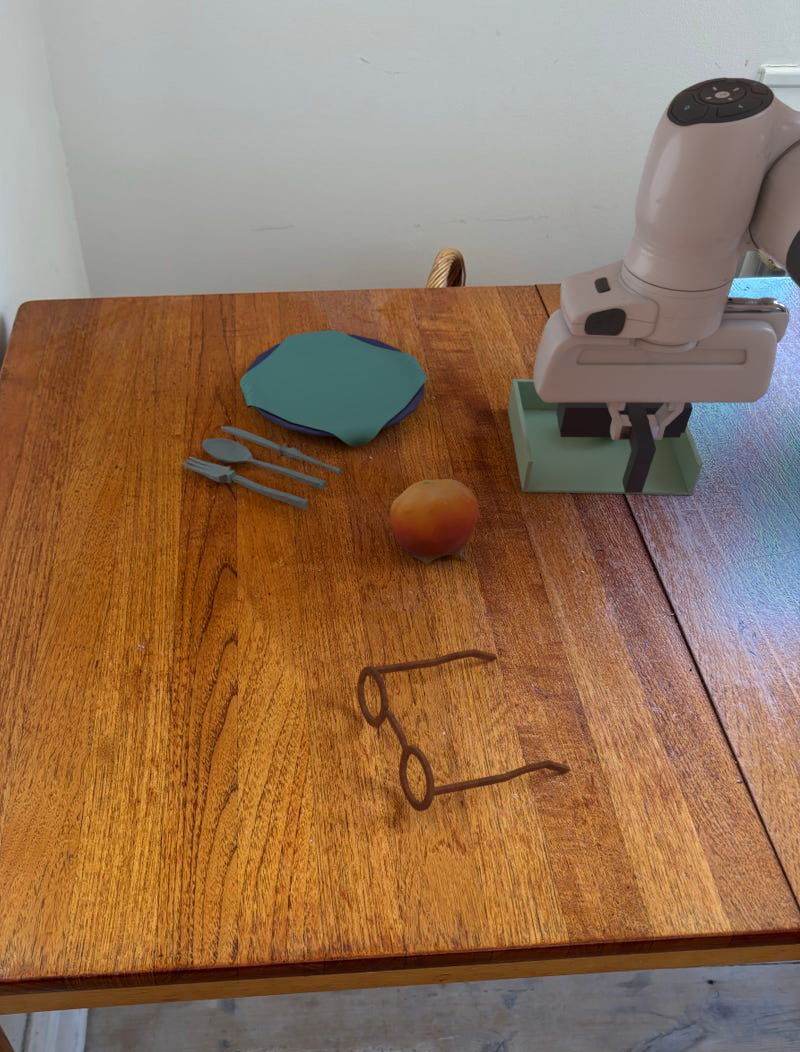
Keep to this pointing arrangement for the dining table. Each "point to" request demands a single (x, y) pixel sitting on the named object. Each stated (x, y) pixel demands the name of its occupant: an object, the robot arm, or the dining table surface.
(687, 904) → the dining table surface
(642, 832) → the dining table surface
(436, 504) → the fruit
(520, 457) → the dustpan
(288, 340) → the cutlery set
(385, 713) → the glasses
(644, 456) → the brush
